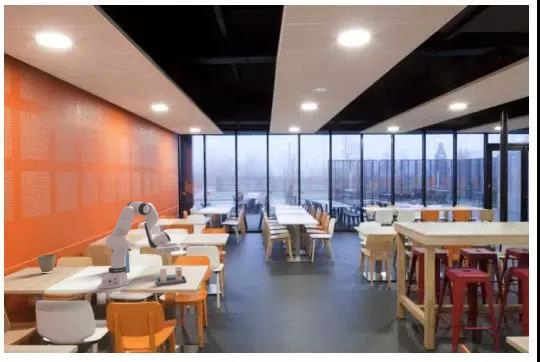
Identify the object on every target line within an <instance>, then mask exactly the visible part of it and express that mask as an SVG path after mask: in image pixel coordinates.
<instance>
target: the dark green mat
mask: <svg viewBox="0 0 540 362" xmlns="http://www.w3.org/2000/svg"><path fill="white" fill-rule="evenodd" d="M166 277H167V278H170V277H176V273H174V274H166ZM157 279H160V275H158V276H157Z"/></svg>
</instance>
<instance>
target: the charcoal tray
mask: <svg viewBox="0 0 540 362" xmlns="http://www.w3.org/2000/svg"><path fill="white" fill-rule="evenodd" d="M155 280H156V284H157V287H161V286H170V285H177V284H185V283H187V279H186V276H185V275H182V280H180V281H176V277H170V278H167V282H163V283H160V279H158V278H156V279H155Z"/></svg>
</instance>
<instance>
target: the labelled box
mask: <svg viewBox="0 0 540 362" xmlns="http://www.w3.org/2000/svg"><path fill="white" fill-rule="evenodd" d="M174 269H175V272H174V273H175V274H176V281H180V280H182V276H183V271H182V270H183V268H182V265H180V264H179V265H175V267H174Z"/></svg>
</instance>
